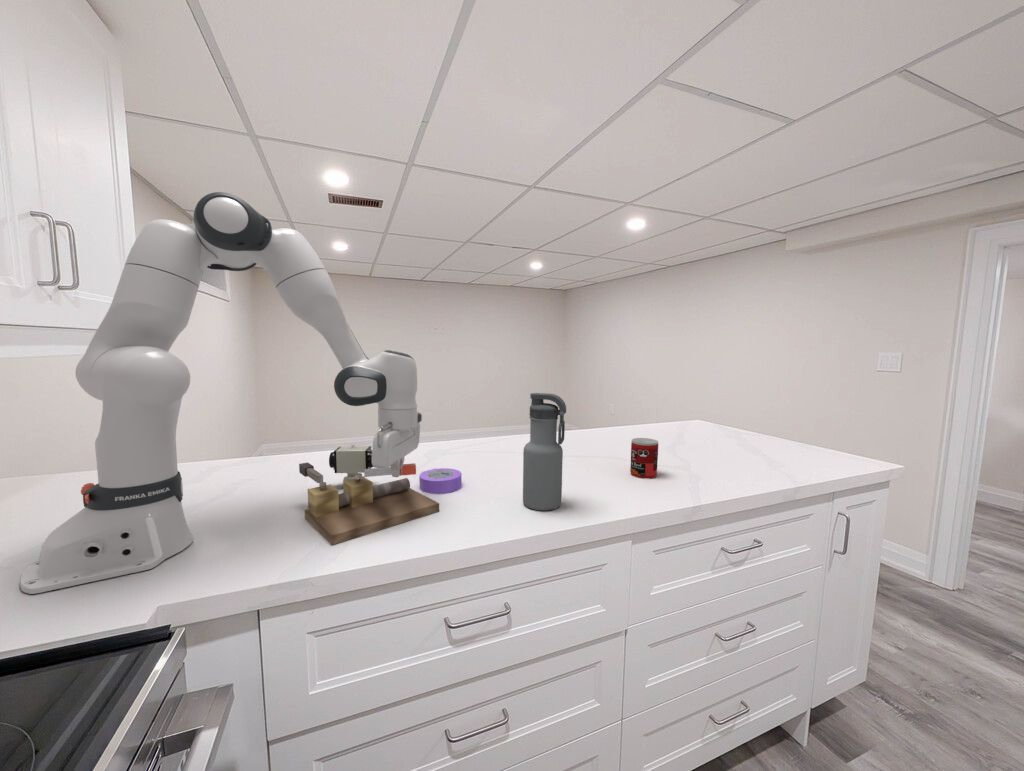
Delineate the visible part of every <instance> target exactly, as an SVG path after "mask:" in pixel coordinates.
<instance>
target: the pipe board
mask: <svg viewBox="0 0 1024 771" xmlns="http://www.w3.org/2000/svg"><path fill="white" fill-rule="evenodd" d="M298 464H299V466H298V467H299V474H300V475H302V476H303V477H305V478H307V477H309V478H310V479H311V480H312V481H314V482H315V483H317V484H318V486H317V487H312V488H308V489H307V505H308V506H307V507H308V508H306V509H304V519H305V520H306V521H307V522H308V523H309V524H310V525H311V526H312V527H313V528H314V529H315V530H316V531H317V532H318V533H319V534H320V535H321V536H323V538H324V539H326V541H327V542H328V543H329V544H330V545H331V546H334V545H337V544H340V543H343V542H346V541H347V542H348V541H350V540H353V539H356V538H359V537H363V536H366V535H369V534H372V533H375V532H379V531H382V530H385V529H389V528H391V527H394V526H397V525H400V524H404V523H407V522H410V521H414V520H416V519H419V518H423V517H425V516H429V515H432V514H436V513H438V512H440V502H438V501H435V500H433V499H432V498H430V497H428V496H426V495H424V494H422V493H420V492H418V491H417V490H415V489H413V488H411V484H410V483H411V482H410V479H409V478H407V477H405V478H401V479H397V480H393V481H387V482H384V483H380V484H375V485H374V484H373V483H374V482H373V481H371V480H369V479H368V478H367V477H361V481H358V482H356V481H355V479H352V480H348V481H343V480H342V484H343V485H342V486H343V492H341V493H339V489H338V488H337V487H335V486H334V485H332V484H331V483H330V484H327V482H326V481H324V475H323V474H322V473H320V472H319V471H317V470H315V468H314V465H312V464H311V463H309V462H301V463H298Z"/></svg>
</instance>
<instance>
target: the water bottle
mask: <svg viewBox="0 0 1024 771" xmlns="http://www.w3.org/2000/svg"><path fill="white" fill-rule="evenodd" d="M530 399H531V401H530V402H531V403H530V404H531V405H530V406H529V419H530V420H529V421H530V426H529V427H530V429H529V430H530V432H529V435H530V436H529V441H528V442H527V443H526V444H525V445H524V446H523V456H522V457H523V459H522V460H523V462H522V467H523V468H522V469H523V470H522V474H523V475H522V479H523V480H522V503H523V504H524V506H526V507H527V508H528V509H531V510H535V511H552V510H553V511H554V510H555V509H558V508H559V507H560V506H561V504H562V496H563V495H562V492H563V490H562V489H563V459H564V458H563V455H564V453H563V448H562V444H563V442H564V440H565V433H566V432H565V431H566V430H565V428H566V426H565V425H566V422H565V414H566V413H567V404H566V403H565V401H564V399H563V398H562V397H560V396H559V395H557V394H554V393H546V392H545V393H544V392H543V393H542V392H532V393H530ZM544 400H545V401H550V402H553V403H555V404H553V403H547V402H544ZM558 418H559V424H558V425H557V423H558ZM557 426H558V427H557ZM557 428H558V429H557ZM557 430H558V432H557ZM557 435H558V436H557Z"/></svg>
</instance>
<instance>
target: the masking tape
mask: <svg viewBox="0 0 1024 771" xmlns="http://www.w3.org/2000/svg"><path fill="white" fill-rule="evenodd" d="M418 479H419V490H420V491H421V492H423V493H427V494H432V495H443V494H450V493H453V492H456V491H459V490H460V489H461V488H462V487H463V486H462V482H463V480H462V472H461V471H460V470H459V469H455V468H446V467H445V468H442V467H441V468H433V469H428V470H424V471H422V472H421V473H420V474H419V478H418Z"/></svg>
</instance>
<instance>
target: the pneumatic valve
mask: <svg viewBox="0 0 1024 771" xmlns="http://www.w3.org/2000/svg"><path fill="white" fill-rule="evenodd" d="M372 447H373V445H371V446H370V445H369V446H360V445H359V446H356V444H355V443H354V444H351V445H350V446H338V447H337V448H336V449H334V450H333V451H331V452H330V454H329V457H328V465H329V468H330V469H333V470H334V474H346V476H344V477H343V478H342V479H343V480H342V482H343V481H348V480H352V479H355V475H361V477H364V475H363V474H364V469H372V468H374V467H373V465H372Z"/></svg>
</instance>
